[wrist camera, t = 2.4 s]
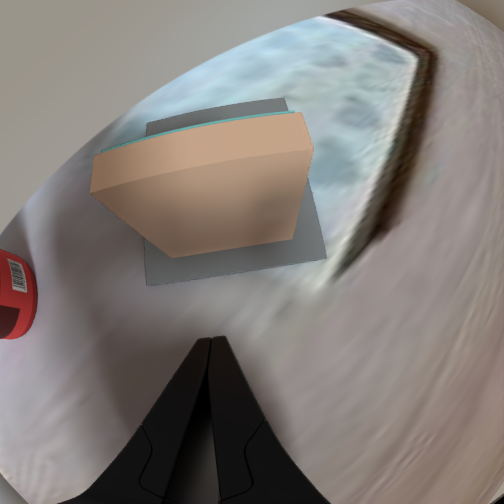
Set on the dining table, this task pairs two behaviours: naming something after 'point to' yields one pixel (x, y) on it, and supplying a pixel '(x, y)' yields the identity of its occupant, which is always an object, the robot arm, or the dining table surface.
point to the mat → (243, 258)
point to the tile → (209, 183)
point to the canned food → (16, 296)
